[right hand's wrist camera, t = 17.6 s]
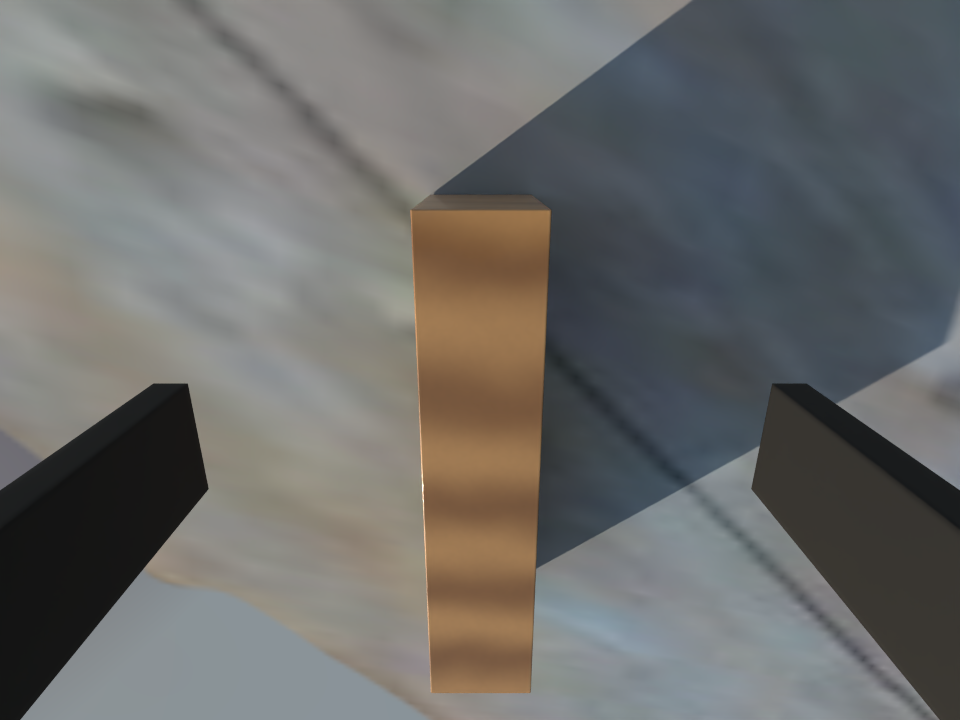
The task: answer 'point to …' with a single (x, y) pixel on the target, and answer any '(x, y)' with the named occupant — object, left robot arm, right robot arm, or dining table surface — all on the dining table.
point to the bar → (480, 430)
